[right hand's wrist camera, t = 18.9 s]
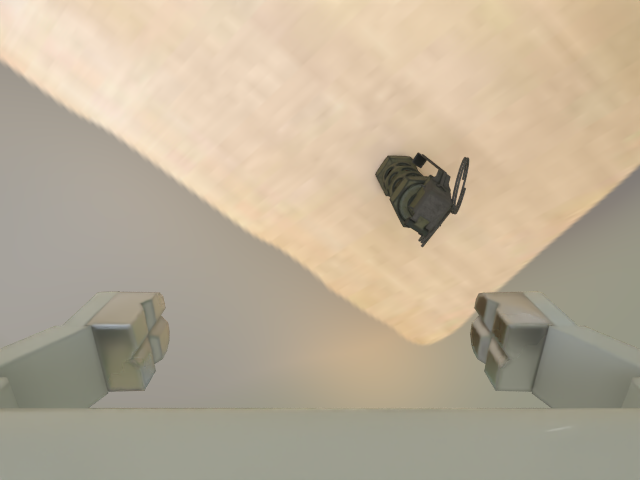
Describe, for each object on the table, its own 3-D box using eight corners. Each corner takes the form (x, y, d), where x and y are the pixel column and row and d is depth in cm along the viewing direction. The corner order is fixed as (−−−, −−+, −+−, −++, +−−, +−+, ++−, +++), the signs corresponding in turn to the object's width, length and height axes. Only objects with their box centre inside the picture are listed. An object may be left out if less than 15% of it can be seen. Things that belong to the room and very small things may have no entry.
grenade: (404, 213, 48) (438, 267, 34) (364, 188, 47) (382, 234, 33) (450, 151, 45) (508, 182, 31) (409, 123, 44) (449, 142, 30)
